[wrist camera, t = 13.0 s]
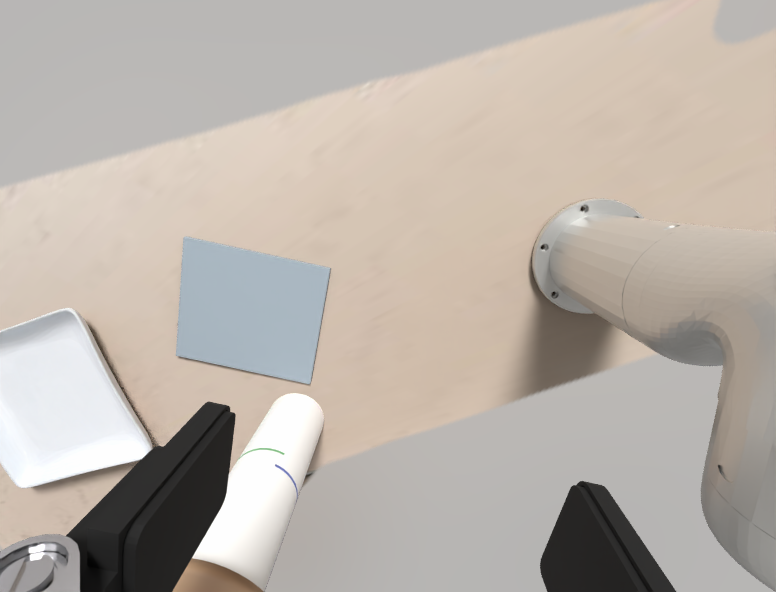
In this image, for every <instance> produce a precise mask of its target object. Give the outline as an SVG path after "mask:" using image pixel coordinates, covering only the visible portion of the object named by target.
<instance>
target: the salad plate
mask: <svg viewBox="0 0 776 592" xmlns="http://www.w3.org/2000/svg"><path fill="white" fill-rule="evenodd" d="M151 450H152V443H151V440H150V437H149V436H148V434H147V432H146V430H145V429H144V427H143V425H142V424H141V422H140V421H139V419H138V417H137V416H136V414H135V412H134V411H133V409H132V407H131V406H130V404H129V402H128V400H127V399H126V397H125V395H124V393H123V392H122V390H121V388H120V386H119V385H118V383H117V381H116V379H115V377H114V375H113V374H112V372H111V370H110V368H109V366H108V364H107V363H106V361H105V359H104V357H103V355H102V353H101V351H100V349H99V347H98V345H97V343H96V341H95V339H94V337H93V335H92V333H91V331H90V329H89V327H88V325H87V323H86V321H85V320H84V318H83V317H82V316H81V315H80V314H79V313H78V312H77V311H76V310H74V309H72V308H64V309H60V310H57V311H54V312H51V313H48V314H45V315H43V316H40V317H37V318H34V319H32V320H29V321H26V322H23V323H21V324H18V325H15V326H12V327H9V328H6V329H3V330H0V463H1V465H2V466H3V468H4V469H5V471H6V472H7V474H8V475H9V476H10V478H11V479H12V481H13V482H14V483H15V484H16V485H17V486H18V487H20V488H30V487H34V486H38V485H42V484H46V483H49V482H53V481H57V480H60V479H64V478H68V477H72V476H76V475H79V474H83V473H87V472H91V471H95V470H99V469H104V468H108V467H112V466H116V465H121V464H125V463H130V462H134V461H138V460H141V459H142V458H143V457H144V456H145V455H146V454H147V453H148V452H149V451H151Z"/></svg>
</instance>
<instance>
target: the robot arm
mask: <svg viewBox="0 0 776 592" xmlns="http://www.w3.org/2000/svg"><path fill="white" fill-rule="evenodd" d="M581 207H583V210H582V211H580V208H581ZM541 245H544V248H543V249H541ZM532 270H533V274H534V278H535V281H536V283H537V285H538V287H539V289H540V290H541V292H542V293H543V294H544V295H545V297H547V298H548V299H549V300H550V301H551V302H552V303H554V304H555V305H557V306H558V307H560V308H562V309H565V310H567V311H570V312H574V313H579V314H593V313H596V314H597V315H599V316H600V317H602V318H603V319H605V320H607V321H608V322H610V323H611V324H613V325H614V326H616V327H617V328H619V329H620V330H622V331H624V332H625V333H627V334H628V335H630V336H631V337H633V338H634V339H636V340H638V341H639V342H641V343H642V344H644V345H646V346H647V347H649V348H650V349H652V350H654V351H655V352H657V353H659V354H660V355H662V356H664V357H667V358H669V359H671V360H674V361H677V362H681V363H685V364H691V365H699V366H721V365H723V370H722V377H721V383H720V387H719V392H718V405H717V409H716V414H715V419H714V424H713V428H712V433H711V437H710V442H709V447H708V451H707V456H706V461H705V466H704V471H703V476H702V484H701V503H702V509H703V513H704V516H705V519H706V522H707V524H708V526H709V528H710V530H711V531H712V533H713V534H714V536H715V537H716V539H717V541H718V542H719V543H720V544H721V546H722V547H723V548H724V549H725V550H726V551H727V552H728V553H729V555H730V556H731V557H732V558H733V559H734V560H735V561H736V562H737V563H738V564H740V565H741V566H742V567H743V568H744V569H745V570H747V571H748V572H749V573H750V574H751V575H753V576H754V577H755V578H756V579H758V580H759V581H760V582H762V583H763V584H765V585H766V586H767V587H769V588H771V589H772V590H773V591H775V592H776V231H759V230H747V229H735V228H726V227H717V226H704V225H696V224H687V223H678V222H669V221H660V220H651V219H644V217H643V216H642V215H641V214H640V213H639V212H638V211H637V210H636V209H634V208H633V207H631V206H629V205H627V204H626V203H623V202H620V201H617V200H612V199H588V200H583V201H580V202H577V203H574V204H571V205H570V206H568V207H566V208H564V209H563V210H561V211H560V212H558V213H557V214H556V215H555V216H554V217H552V218H551V219H550V220H549V222H548V223H547V224H546V225H545V226H544V228H543V229H542V231H541V233H540V234H539V236H538V238H537V241H536V243H535V246H534V250H533V256H532ZM552 292H554V294H553V295H551V293H552ZM234 425H235V413H232V412H230V407H229V406H227V405H222V404H217V403H213V402H207V403H205V404H204V405H203V406H202V407H201V408H200V409H199V410H198V412H197V413H196V414H195V415H194V416H193V417H192V418H191V419H190V420H189V421H188V422H187V423H186V424H185V425H184V426H183V427H182V428H181V429H180V430H179V432H178V433H177V434H176V435H175V436H174V437H173V438H172V439H171V440H170V441H169V442H168V443H167V444H166V445H165V446H164V447H162V446H157V447H154V448H153V449H152V450H151V451H149V452H148V453H147V454H146V455H145V456H144V457H143V458H142V459H141V460H140V461H139V462H138V463H137V464H136V466H135V467H134V468H133V469H132V470H131V471H130V472H129V473H128V474H127V475H126V476H125V477H124V478H123V479H122V480H121V481H120V482H119V483H118V484H117V485H116V486H115V487H114V488H113V489H112V490H111V491H110V492H109V493H108V494H107V495H106V496H105V497H104V498H103V499H102V500H101V501H100V502H99V503H98V504H97V505H96V506H95V507H94V508H93V509H92V510H91V511H90V512H89V513H88V514H87V515H86V516H85V517H84V518H83V519H82V520H81V521H80V522H79V523H78V524H77V525H76V526H75V527H74V528H73V529H72V530H71V531H70V532H69V533H68V534H67V535H66V536H63V535H60V534H45V535H40V536H35V537H30V538H27V539H25V540H22V541H20V542H17V543H15V544H12V545H10V546H9V547H7V548H5V549H3V550H2V551H0V592H172V591H173V589H174V588H175V586H176V584H177V583H178V581H179V579H180V578H181V576H182V574H183V572H184V571H185V569H186V567H187V566H188V564H189V562H190V560H191V559H192V557H193V555H194V554H195V552H196V550H197V548H198V547H199V545H200V543H201V542H202V540H203V538H204V536H205V535H206V533H207V531H208V530H209V528H210V526H211V525H212V523H213V521H214V519H215V518H216V516H217V514H218V513H219V511H220V509H221V507H222V505H223V503H224V500H225V497H226V493H227V485H228V477H229V468H230V460H231V451H232V443H233V434H234ZM540 569H541V575H542V578H543V581H544V583H545V586H546V589H547V592H676V591H675V589H674V588H673V586H672V585H671V583H670V582H669V580H668V579H667V577H666V576H665V574H664V573H663V572H662V570H661V568H660V567H659V566H658V564H657V562H656V561H655V560H654V558H653V557H652V555H651V554H650V552H649V551H648V549H647V548H646V546H645V545H644V543H643V542H642V540H641V539H640V537H639V536H638V535H637V533H636V531H635V530H634V529H633V527H632V526H631V524H630V523H629V521H628V520H627V518H626V517H625V515H624V514H623V512H622V511H621V509H620V508H619V506H618V505H617V503H616V502H615V500H614V499H613V497H612V496H611V494H610V493H609V492H608V490H607V489H606V488H605V487H604V486H602V485H598V484H593V483H589V482H584V481H580V482H579V483H578V484H577V485H576V486H575V485H574V486H572V487H571V489H570V491H569V493H568V496H567V498H566V501H565V503H564V505H563V507H562V510H561V512H560V515H559V517H558V520H557V522H556V525H555V527H554V529H553V531H552V534H551V536H550V539H549V541H548V543H547V546H546V548H545V551H544V553H543V555H542V558H541V563H540Z"/></svg>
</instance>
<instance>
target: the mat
mask: <svg viewBox="0 0 776 592" xmlns="http://www.w3.org/2000/svg"><path fill="white" fill-rule="evenodd" d="M330 270H331V268H328V267H324V266H319V265H315V264H310V263H305V262H301V261H296V260H292V259H287V258H282V257H278V256H273V255H269V254H264V253H259V252H255V251H250V250H246V249H241V248H236V247H232V246H227V245H223V244H218V243H214V242H209V241H204V240H200V239H195V238H191V237H184V240H183V255H182V271H181V286H180V302H179V317H178V333H177V348H176V356H180V357H185V358H189V359H194V360H199V361H204V362H208V363H213V364H218V365H222V366H227V367H232V368H236V369H241V370H246V371H250V372H255V373H260V374H264V375H269V376H274V377H278V378H283V379H288V380H292V381H297V382H302V383H306V384H310V383H311V379H312V374H313V368H314V362H315V356H316V351H317V345H318V339H319V333H320V328H321V322H322V316H323V310H324V305H325V299H326V293H327V287H328V282H329V276H330Z"/></svg>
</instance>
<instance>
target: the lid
mask: <svg viewBox="0 0 776 592" xmlns="http://www.w3.org/2000/svg"><path fill="white" fill-rule="evenodd" d="M172 592H264V591H263V590H261V589H260V588H259V587H258V586H257V585H255V584H254V583H253V582H251V581H250V580H248V579H247V578H245V577H243V576H242V575H240V574H238V573H236V572H234V571H232V570H230V569H228V568H226V567H223V566H220V565H218V564H215V563H211V562H207V561H204V560H199V559H193V558H192V559H191V560H190V562H189V564H188V566H187V567H186V569H185V571H184V572H183V574H182V576H181V578H180V579H179V581H178V583H177V584H176V586H175V588H174V589H173V591H172Z"/></svg>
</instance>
